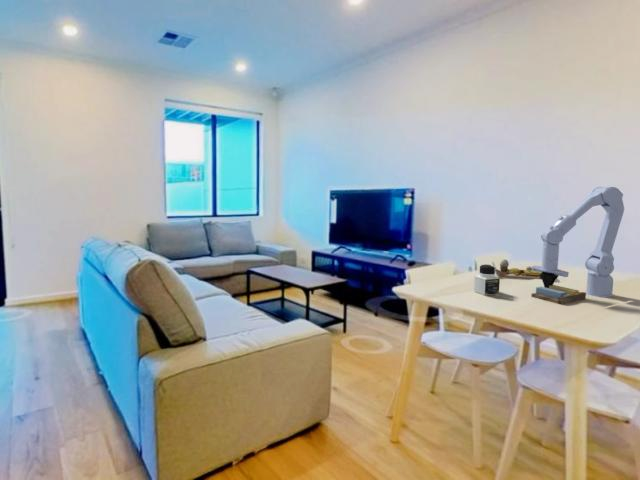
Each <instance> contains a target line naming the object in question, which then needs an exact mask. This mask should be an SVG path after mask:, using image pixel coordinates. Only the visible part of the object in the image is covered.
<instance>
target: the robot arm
mask: <svg viewBox="0 0 640 480" xmlns="http://www.w3.org/2000/svg"><path fill="white" fill-rule="evenodd" d="M623 197H624V194H623V193H622V192H621V190H620V189H619V188H618V187H615V186H610V187H609V186H606V187H603V186H597V187H595V188H594V189H593V190H592V191H591V192H589V193H587V195H586V197H584V199H583V200H581V202H580V203H579V204H577V206H576V207H575V208H574V209H573V210H571V212H570V213H569V214H564V215H562V216H559V217H557V218H558V220H557V221H556V222H555V223H553V225H550V226H549V228H548V229H546V230H544V231H543V232H542V234H541V235H540V238H541V240H542V242H543V243H542V256H541V257H542V259H541V266H538V265H532V266H531V268H532V271H538V272H542V273H541V274H540V277H541V279H542V283H543V287H545V288H549V286H551V285H555V282H556V280H557V279H558V278H559V276H560V277H563V278H568V277H569V272H568V271H565V270H562V269H559V268H558V267H559V266H558V265H559V256H560V255H559V253H560V243H562V242H563V239H564V236H565V235H566V234H567V233H569V232H570V231H571V230H572V229H573V228H575V226H576V225H577V220H579V218H581V217H582V216H583V215H584V214H586V213H588V211H590V210H591V209H592V208H593V207H597V206H601V207H602V209H603V210H604V211H605V215H604V218H603V221H602V225H601V229H600V231H599V235H598V239H597V242H596V245H595V248H594V249H593V250H592V251H591V252H590V255H589V257H588V258H586V260H585V263H584V265H585V268H586V269H587V278H586V290H585V291H584V292H585V293H586V296H591V297H595V298H599V299H601V298H602V299H603V298H607V297H612V296H615V294H614V293H613V290H614V289H613V288H614V278H613V276H612V275H611V274H612V273H613V272H614V270H615V265H614V261H615V257H614V255H613V253H612V252H613V250H614V245H615V242H616V240H617V235H618V233H619V232H618V231H619V228H620V225H621V222H622V219H623V216H624V212H625V206H624V200H623ZM541 279H540V280H541Z"/></svg>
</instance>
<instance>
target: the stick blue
mask: <svg viewBox="0 0 640 480" xmlns="http://www.w3.org/2000/svg"><path fill="white" fill-rule="evenodd" d="M535 293H536V294H540V295H544V296H548V297H552V298H556V299H558V297H562V296H563V295H566V292H562V291H558V290H554V289H549V288H545V287H544V286H538V287H536V288H535Z"/></svg>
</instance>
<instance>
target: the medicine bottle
mask: <svg viewBox="0 0 640 480" xmlns="http://www.w3.org/2000/svg"><path fill="white" fill-rule="evenodd" d="M495 267H496V265H495V266H493V264H481V265H480V266H479V274H476V275H474V284H473V285H474V286H473V291H474V293H477V294H480V295H482V296H485V297H486V296H494V295H495V296H497V295H498V294H499V293H500V280H501V278H499V277H498V276H496V272H495Z"/></svg>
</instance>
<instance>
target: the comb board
mask: <svg viewBox="0 0 640 480" xmlns="http://www.w3.org/2000/svg"><path fill="white" fill-rule="evenodd" d="M585 292H586V291H584V292H581V291H579V292H577V293H573V294H571V295H569V294H568V295H563V296H562V297H558V299H556V298H552V297H548V296H544V295H540V294H536V292H533V293H531V295H530V296H531V298H535V299H539V300H543V301H546V302H549V303H553V304H557V305H565V304H569V303H573V302H578V301H582V300H586V296H587V295H586V293H585Z"/></svg>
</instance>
